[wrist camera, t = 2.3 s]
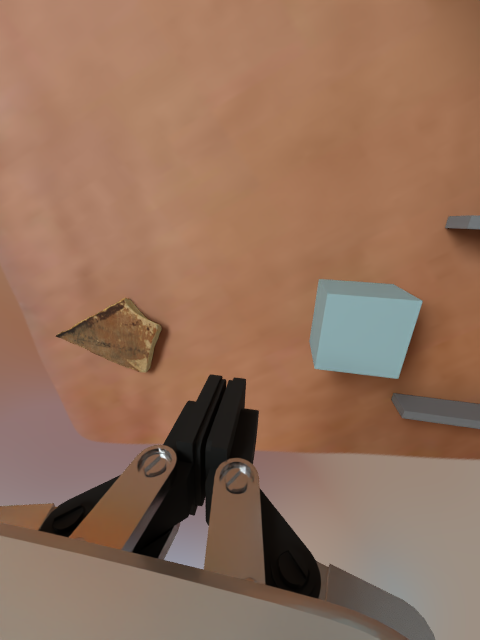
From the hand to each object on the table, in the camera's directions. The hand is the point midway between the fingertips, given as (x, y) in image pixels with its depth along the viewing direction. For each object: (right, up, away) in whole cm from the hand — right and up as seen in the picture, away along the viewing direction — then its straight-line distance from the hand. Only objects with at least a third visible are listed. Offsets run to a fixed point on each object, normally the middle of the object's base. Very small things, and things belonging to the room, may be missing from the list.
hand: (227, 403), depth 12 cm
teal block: (+10, +4, +11) cm, 16 cm away
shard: (-12, +2, +17) cm, 21 cm away
